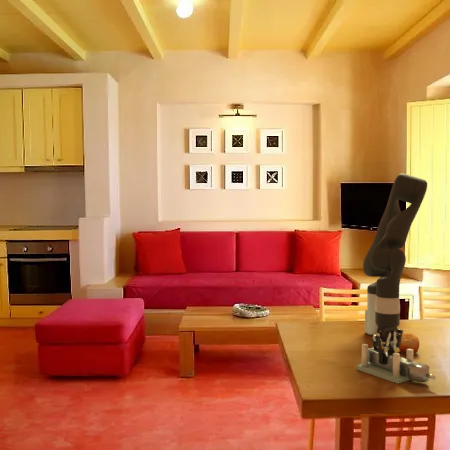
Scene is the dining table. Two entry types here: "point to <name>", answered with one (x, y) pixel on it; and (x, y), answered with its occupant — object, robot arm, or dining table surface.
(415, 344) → the fruit
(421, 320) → the dining table surface
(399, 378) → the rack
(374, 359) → the ball-topped lever
